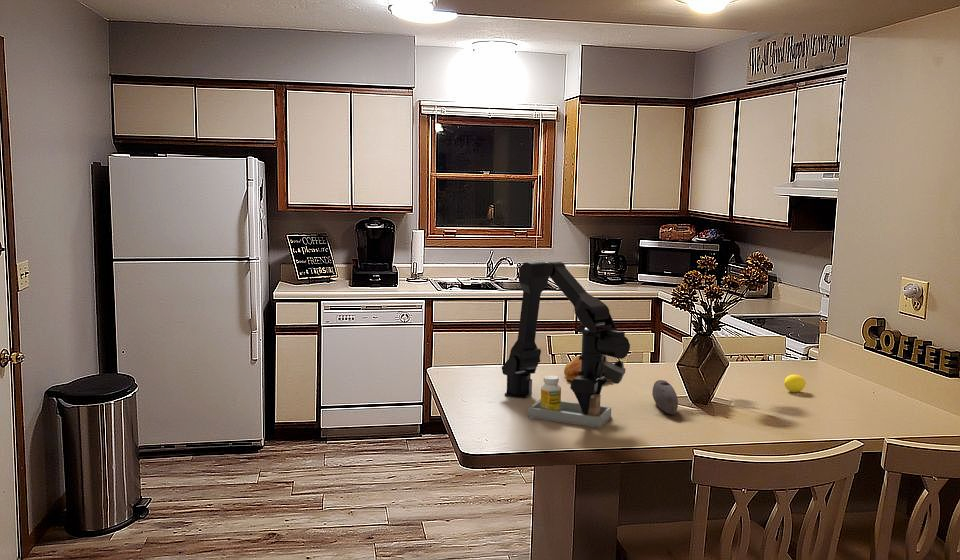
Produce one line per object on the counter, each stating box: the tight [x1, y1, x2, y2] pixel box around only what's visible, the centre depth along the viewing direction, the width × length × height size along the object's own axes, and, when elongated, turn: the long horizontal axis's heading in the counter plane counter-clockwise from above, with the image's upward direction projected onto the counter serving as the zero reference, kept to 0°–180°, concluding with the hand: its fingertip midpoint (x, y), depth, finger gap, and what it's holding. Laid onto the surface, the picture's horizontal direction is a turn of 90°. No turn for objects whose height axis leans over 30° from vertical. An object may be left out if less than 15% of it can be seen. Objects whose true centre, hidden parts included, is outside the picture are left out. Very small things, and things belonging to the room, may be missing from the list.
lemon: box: [783, 373, 807, 393], centre depth 242 cm, size 7×5×5 cm
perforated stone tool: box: [652, 379, 679, 415], centre depth 221 cm, size 15×5×7 cm, turn 1°
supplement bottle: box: [540, 375, 562, 411], centre depth 214 cm, size 5×5×10 cm
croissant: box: [563, 356, 610, 382], centre depth 253 cm, size 14×16×8 cm
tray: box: [528, 398, 612, 429], centre depth 213 cm, size 20×11×3 cm, turn 67°
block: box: [581, 394, 602, 417], centre depth 210 cm, size 4×4×6 cm
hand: (590, 409), depth 210 cm, fingers open, 9 cm apart
